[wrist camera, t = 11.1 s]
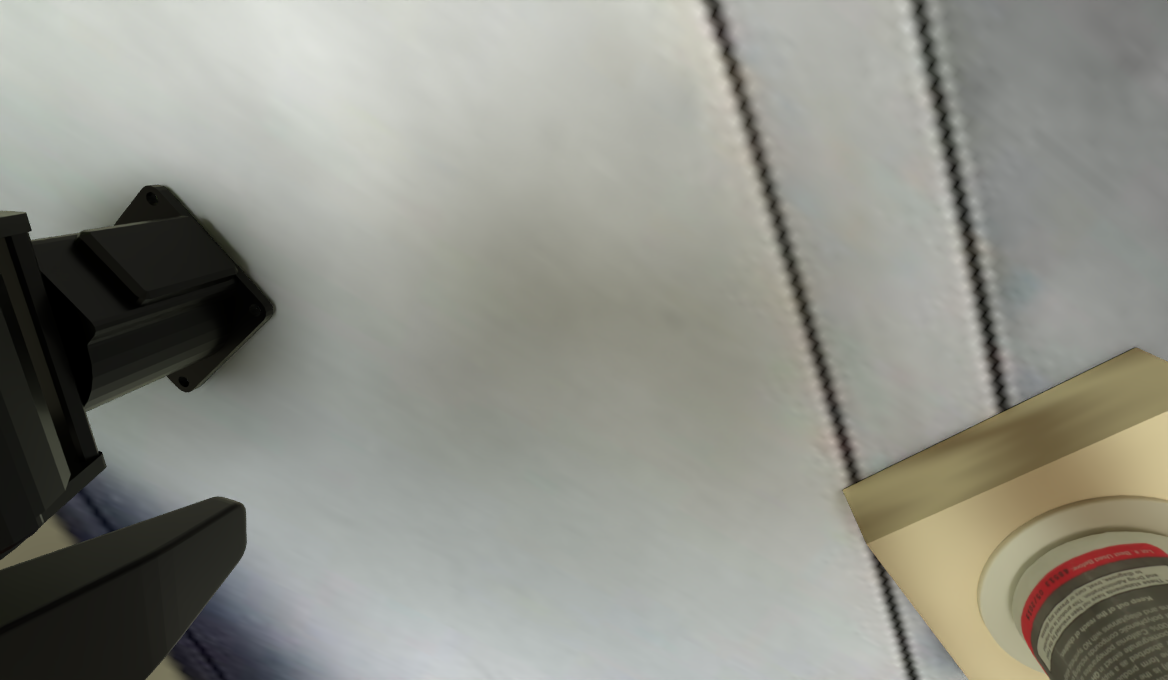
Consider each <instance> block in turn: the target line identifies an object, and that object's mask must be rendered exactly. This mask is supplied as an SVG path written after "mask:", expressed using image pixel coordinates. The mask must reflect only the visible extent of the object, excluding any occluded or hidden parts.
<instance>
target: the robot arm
mask: <svg viewBox="0 0 1168 680" xmlns="http://www.w3.org/2000/svg"><path fill="white" fill-rule="evenodd" d="M155 195H156V196H157V198H158V201H157V200H156V196H155ZM30 231H32V230H31V227H30V223H29V220H28V217H27V214H26V212H15V211H0V560H1V559H3V558H4V557H5V556H6V555H8V554H9V553H10V552H12V551H13V550H14V549H15V548H17V547H18V546H19V545H20V544H21V543H22V542H23V541H25V540H26V539H27V538H28V537H30V536H31V535H33V534H34V533H35V532H36V531H37V530H38V529H39V528H40V527H41V526H42V525H43V524H44V523H45V522H46V521H47V520H48V519H49V518H50V517H51V516H53V515H54V514H55V513H56V512H57V511H58V510H59V509H60V508H61V507H63V506H64V505H65V504H66V503H67V502H68V501H69V500H70V499H72V498H73V497H74V496H75V495H76V494H77V493H78V492H79V491H80V490H82V489H83V488H84V487H85V486H86V485H87V484H88V483H89V482H91V481H92V480H93V479H94V478H95V477H96V476H97V475H98V474H99V473H101V472H102V471H103V470H104V469H105V468H106V467H107V466H106V463H105V460H104V457H103V454H102V452H100V451H98V449H97V446H96V443H95V440H94V437H93V434H92V430H91V427H90V424H89V421H88V418H87V415H86V412H87V411H89V410H92V409H94V408H96V407H98V406H100V405H103V404H105V403H107V402H109V401H112V400H114V399H116V398H118V397H120V396H123V395H125V394H127V393H129V392H132V391H134V390H136V389H138V388H140V387H143V386H145V385H147V384H149V383H152V382H154V381H156V380H158V379H160V378H163V377H165V376H167V377H168V378H169V379H170V380H171V381H172V382H173V383H174V384H175V385H176V386H177V387H178V388H179V389H180V390H181V391H184V392H190V391H192V390H194V389H196V388H198V387H200V386H201V385H202V384H203V383H204V382H205V381H206V380H207V379H208V378H209V377H210V376H211V375H212V374H213V373H214V372H215V371H216V370H217V369H218V368H219V367H220V366H221V365H222V364H224V363H225V362H226V361H227V360H228V359H229V358H230V357H231V356H232V355H233V354H234V353H235V352H236V351H237V350H238V349H239V348H240V347H241V346H242V345H243V344H244V343H245V342H246V341H247V340H248V339H249V338H250V337H251V336H252V335H253V334H254V333H255V332H256V331H257V330H258V329H259V328H260V327H261V326H262V325H263V324H264V323H265V322H266V321H268V320H269V319H270V318H271V316H272V314H273V307H272V304H271V303H270V301H269V300H268V299H267V298H266V297H265V296H264V295H263V294H262V292H261V291H260V290H259V289H258V288H257V287H256V286H255V285H254V284H253V283H252V281H251V280H250V279H249V278H248V277H247V276H246V275H245V274H244V273H243V272H242V270H241V269H240V268H239V267H238V266H237V265H236V264H235V263H234V262H233V261H232V260H231V258H230V257H229V256H228V255H227V254H226V253H225V252H224V251H223V250H222V249H221V247H220V246H219V245H218V244H217V243H216V242H215V241H214V240H213V239H212V238H211V236H210V235H209V234H208V233H207V232H206V231H205V230H204V229H203V228H202V227H201V226H200V224H199V223H198V222H197V221H196V220H195V219H194V218H193V217H192V216H191V215H190V213H189V212H188V211H187V210H186V209H185V208H184V207H183V206H182V205H181V204H180V202H179V201H178V200H177V199H176V198H175V197H174V196H173V195H172V194H171V193H170V192H169V190H168V189H166V188H165V187H164V186H161V185H150V186H145V187H143V188H142V189H141V191H140V192H139V193H138V195H137V196H136V197H135V198H134V200H133V201H132V202H131V204H130V205H129V206H128V208H127V209H126V210H125V211H124V213H123V214H122V215H121V217H120V218H119V219H118V221H117V222H116V223H115V224H114V226H109V227H102V228H95V229H89V230H83V231H81V232H80V233H75V234H68V235H61V236H55V237H48V238H41V239H35V240H30V236H29V233H28V232H30ZM256 305H257V306H258V307H259V308H260V311H261V313H260V312H259V311H258V310H257V307H256ZM246 544H247V534H246V508H245V507H244V505H243V504H242V503H240V502H237V501H234V500H231V499H228V498H225V497H213V498H209V499H206V500H203V501H201V502H198V503H195V504H192V505H189V506H186V507H183V508H180V509H177V510H174V511H171V512H168V513H165V514H163V515H160V516H157V517H154V518H151V519H148V520H145V521H142V522H139V523H136V524H133V525H130V526H127V527H125V528H122V529H119V530H116V531H113V532H110V533H107V534H104V535H101V536H98V537H95V538H92V539H90V540H87V541H84V542H81V543H78V544H75V545H72V546H69V547H66V548H64V549H61V550H57V551H55V552H52V553H49V554H46V555H43V556H40V557H37V558H34V559H31V560H28V561H25V562H22V563H19V564H16V565H14V566H11V567H8V568H5V569H2V570H0V680H145V679H146V678H147V677H148V676H149V675H150V674H151V673H152V672H153V670H154V669H155V668H156V667H157V666H158V665H159V664H160V663H161V661H162V660H163V659H164V658H165V657H166V656H167V655H168V653H169V652H170V651H171V650H172V648H173V647H174V646H175V645H176V643H177V642H178V641H179V640H180V638H181V637H182V636H183V634H184V633H185V632H186V631H187V629H188V628H189V627H190V625H191V624H192V623H193V621H194V620H195V619H196V617H197V616H198V615H199V613H200V612H201V611H202V610H203V608H204V607H205V606H206V604H207V603H208V602H209V600H210V599H211V598H212V596H213V595H214V594H215V592H216V591H217V590H218V589H219V587H220V586H221V585H222V583H223V582H224V581H225V579H226V578H227V577H228V575H229V574H230V573H231V571H232V570H233V569H234V568H235V566H236V565H237V564H238V562H239V561H240V559H241V558H242V556H243V554H244V551H245V549H246Z"/></svg>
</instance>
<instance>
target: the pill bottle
mask: <svg viewBox="0 0 1168 680" xmlns="http://www.w3.org/2000/svg"><path fill="white" fill-rule="evenodd" d="M1012 614H1013V619H1014V622H1015V625H1016V628H1017V630H1018V632H1019V634H1020V635H1021V637H1022V638H1023V640H1024V641H1025V643H1026V644H1027V646H1028V647H1029V649H1030V650H1031V652H1032V654H1033V656H1034V657H1035V659H1036V660H1037V662H1038V663H1039V664H1040V666H1041V667H1042V669H1043V670H1044V672H1045V673H1046V675H1047V676H1048V677H1049V679H1050V680H1168V537H1166V536H1162V535H1156V534H1152V533H1144V532H1127V531H1124V532H1105V533H1102V534H1095V535H1090V536H1086V537H1083V538H1079V539H1076V540H1073V541H1070V542H1067V543H1065V544H1063V545H1060V546H1058V547H1056V548H1054V549H1052V550H1050V551H1049V552H1047V553H1046V554H1045V555H1043V556H1042V557H1040V558H1039V559H1038V560H1036V561H1035V562H1034V563H1033V564H1032V565H1031V566H1030V567H1029V568H1028V569H1027V570H1026V571H1025V572H1024V574H1023V576H1022V577H1021V579H1020V581H1019V583H1018V585H1017V587H1016V590H1015V593H1014V597H1013V602H1012Z"/></svg>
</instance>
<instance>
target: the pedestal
mask: <svg viewBox="0 0 1168 680" xmlns="http://www.w3.org/2000/svg"><path fill="white" fill-rule="evenodd" d="M843 492H844V495H845V497H846V499H847V501H848V503H849V506H850V508H851V510H852V512H853V515H854V517H855V519H856V521H857V524H858V526H859V528H860V530H861V533H862V535H863V537H864V539H865V542H866V544H867V545H868V547H869V548H870V549H871V550H872V552H873V553H874V554H875V556H876V557H877V558H878V560H879V561H880V562H881V564H882V565H883V566H884V568H885V569H886V570H887V572H888V573H889V574H890V576H891V577H892V578H893V580H894V581H895V582H896V584H897V585H898V586H899V588H900V589H901V590H902V592H903V593H904V594H905V596H906V597H907V598H908V600H909V601H910V602H911V604H912V605H913V606H914V608H915V609H916V610H917V612H918V613H919V614H920V615H921V617H922V618H923V619H924V621H925V622H926V623H927V625H928V626H929V627H930V629H931V630H932V631H933V633H934V634H935V635H936V637H937V638H938V639H939V641H940V642H941V643H942V645H943V646H944V647H945V649H946V650H947V651H948V653H949V654H950V655H951V657H952V658H953V659H954V661H955V662H956V663H957V665H958V666H959V667H960V669H961V670H962V671H963V673H964V674H965V675H966V676H967V678H968V679H969V680H1050V679H1049V677H1048V676H1047V675H1046V673H1045V672H1044V670H1043V669H1042V667H1041V666H1040V664H1039V663H1038V662H1037V660H1036V659H1035V657H1034V656H1033V654H1032V652H1031V650H1030V649H1029V647H1028V646H1027V644H1026V643H1025V641H1024V640H1023V638H1022V637H1021V635H1020V634H1019V632H1018V630H1017V628H1016V625H1015V622H1014V619H1013V614H1012V602H1013V597H1014V593H1015V590H1016V587H1017V585H1018V583H1019V581H1020V579H1021V577H1022V576H1023V574H1024V572H1025V571H1026V570H1027V569H1028V568H1029V567H1030V566H1031V565H1032V564H1033V563H1034V562H1035V561H1036V560H1038V559H1039V558H1040V557H1042V556H1043V555H1045V554H1046V553H1047V552H1049V551H1050V550H1052V549H1054V548H1056V547H1058V546H1060V545H1063V544H1065V543H1067V542H1070V541H1073V540H1076V539H1079V538H1083V537H1086V536H1090V535H1095V534H1102V533H1105V532H1124V531H1127V532H1144V533H1152V534H1156V535H1162V536H1166V537H1168V362H1167V361H1165V360H1163V359H1160V358H1158V357H1156V356H1154V355H1152V354H1150V353H1147V352H1145V351H1143V350H1141V349H1139V348H1134V349H1132V350H1130V351H1128V352H1126V353H1124V354H1122V355H1120V356H1117V357H1115V358H1113V359H1111V360H1109V361H1107V362H1105V363H1103V364H1101V365H1099V366H1097V367H1095V368H1093V369H1091V370H1089V371H1087V372H1085V373H1082V374H1080V375H1078V376H1076V377H1074V378H1072V379H1070V380H1068V381H1066V382H1064V383H1062V384H1060V385H1058V386H1056V387H1054V388H1052V389H1050V390H1047V391H1045V392H1043V393H1041V394H1039V395H1037V396H1035V397H1033V398H1031V399H1029V400H1027V401H1025V402H1023V403H1021V404H1019V405H1017V406H1014V407H1012V408H1010V409H1008V410H1006V411H1004V412H1002V413H1000V414H998V415H996V416H994V417H992V418H990V419H988V420H986V421H984V422H982V423H979V424H977V425H975V426H973V427H971V428H969V429H967V430H965V431H963V432H961V433H959V434H957V435H955V436H953V437H951V438H949V439H947V440H944V441H942V442H940V443H938V444H936V445H934V446H932V447H930V448H928V449H926V450H924V451H922V452H920V453H918V454H916V455H914V456H912V457H909V458H907V459H905V460H903V461H901V462H899V463H897V464H895V465H893V466H891V467H889V468H887V469H885V470H883V471H881V472H879V473H876V474H874V475H872V476H870V477H868V478H866V479H864V480H862V481H860V482H858V483H856V484H854V485H852V486H850V487H848V488H846V489H844V490H843Z"/></svg>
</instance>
